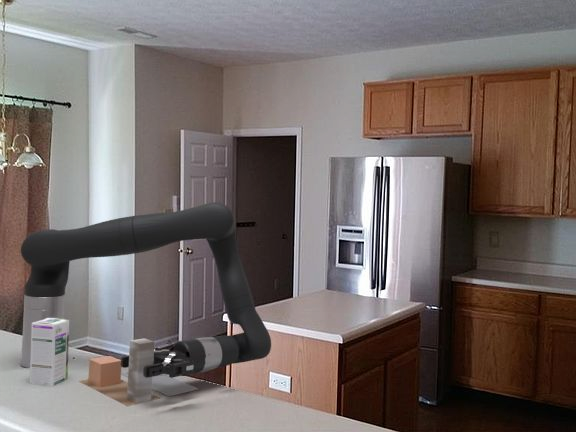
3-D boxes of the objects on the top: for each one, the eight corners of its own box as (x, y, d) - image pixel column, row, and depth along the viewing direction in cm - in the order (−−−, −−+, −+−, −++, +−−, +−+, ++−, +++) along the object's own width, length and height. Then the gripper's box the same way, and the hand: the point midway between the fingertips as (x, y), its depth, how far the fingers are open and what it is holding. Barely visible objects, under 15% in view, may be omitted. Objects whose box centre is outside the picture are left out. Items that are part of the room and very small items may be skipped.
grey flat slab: (118, 377, 138) (119, 367, 138) (148, 372, 144) (148, 361, 144) (168, 400, 124) (169, 388, 124) (199, 393, 130) (199, 382, 130)
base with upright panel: (78, 385, 131) (81, 327, 130) (111, 379, 136) (113, 323, 136) (126, 410, 117) (130, 345, 117) (160, 402, 123) (164, 340, 122)
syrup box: (52, 391, 126) (55, 323, 126) (28, 388, 127) (31, 321, 127) (67, 383, 132) (70, 319, 132) (44, 380, 133) (47, 316, 133)
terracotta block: (88, 381, 131) (89, 359, 130) (108, 377, 134) (109, 355, 134) (99, 387, 127) (100, 364, 127) (120, 383, 131) (121, 360, 131)
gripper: (178, 332, 136) (115, 341, 124) (218, 345, 126) (153, 356, 115) (176, 365, 136) (113, 377, 125) (216, 380, 127) (151, 394, 115)
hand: (132, 367), depth 120 cm, fingers open, 8 cm apart
